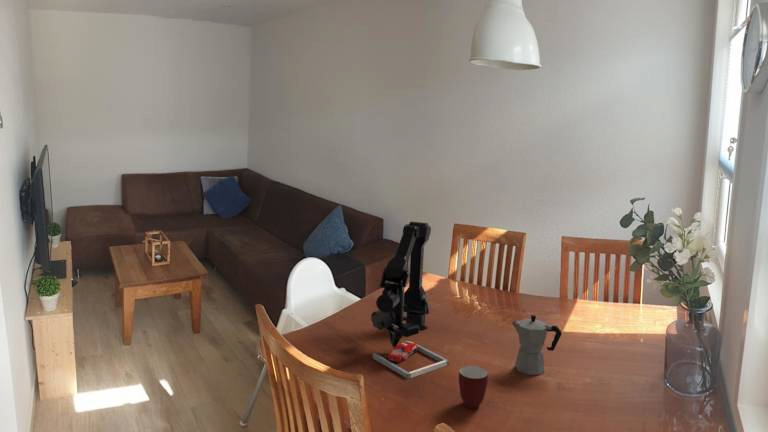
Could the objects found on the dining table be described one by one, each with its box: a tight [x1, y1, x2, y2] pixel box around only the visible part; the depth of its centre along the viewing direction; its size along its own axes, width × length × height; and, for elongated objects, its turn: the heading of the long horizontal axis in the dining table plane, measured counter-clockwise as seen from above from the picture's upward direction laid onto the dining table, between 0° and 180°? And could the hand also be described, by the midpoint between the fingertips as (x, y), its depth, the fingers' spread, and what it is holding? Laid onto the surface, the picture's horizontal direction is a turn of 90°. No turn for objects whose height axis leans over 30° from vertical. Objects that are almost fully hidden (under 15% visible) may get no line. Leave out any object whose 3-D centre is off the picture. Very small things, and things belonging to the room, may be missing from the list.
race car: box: [387, 340, 418, 363], centre depth 208 cm, size 13×5×4 cm, turn 146°
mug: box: [458, 365, 489, 409], centre depth 178 cm, size 11×8×10 cm
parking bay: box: [372, 343, 450, 380], centre depth 204 cm, size 17×18×2 cm
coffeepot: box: [511, 314, 563, 376], centre depth 199 cm, size 15×9×18 cm, turn 68°
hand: (394, 346), depth 211 cm, fingers closed
